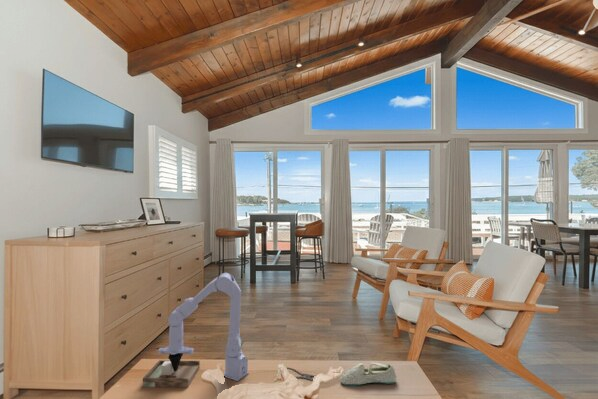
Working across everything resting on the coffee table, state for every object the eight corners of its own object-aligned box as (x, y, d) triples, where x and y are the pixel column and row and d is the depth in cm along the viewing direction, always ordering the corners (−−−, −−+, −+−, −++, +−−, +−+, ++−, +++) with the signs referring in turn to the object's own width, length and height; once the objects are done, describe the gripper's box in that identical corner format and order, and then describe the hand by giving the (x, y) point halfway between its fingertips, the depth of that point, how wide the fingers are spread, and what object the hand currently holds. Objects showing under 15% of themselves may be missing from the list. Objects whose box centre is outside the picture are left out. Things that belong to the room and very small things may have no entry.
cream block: (173, 370, 144) (173, 361, 144) (170, 375, 140) (170, 365, 140) (164, 370, 144) (164, 361, 144) (161, 375, 140) (161, 365, 140)
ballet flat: (337, 377, 144) (337, 358, 144) (391, 375, 146) (391, 357, 146) (341, 388, 135) (341, 368, 135) (399, 385, 137) (399, 366, 137)
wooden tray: (199, 368, 150) (199, 360, 150) (188, 387, 134) (188, 378, 134) (158, 368, 150) (159, 360, 150) (142, 387, 134) (142, 378, 134)
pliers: (279, 366, 152) (322, 369, 149) (279, 368, 152) (322, 371, 149) (274, 377, 142) (320, 380, 139) (274, 379, 142) (320, 382, 139)
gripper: (155, 342, 139) (154, 375, 138) (190, 342, 139) (189, 375, 138) (162, 335, 146) (161, 366, 145) (195, 336, 146) (194, 367, 145)
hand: (175, 370), depth 142 cm, fingers closed
